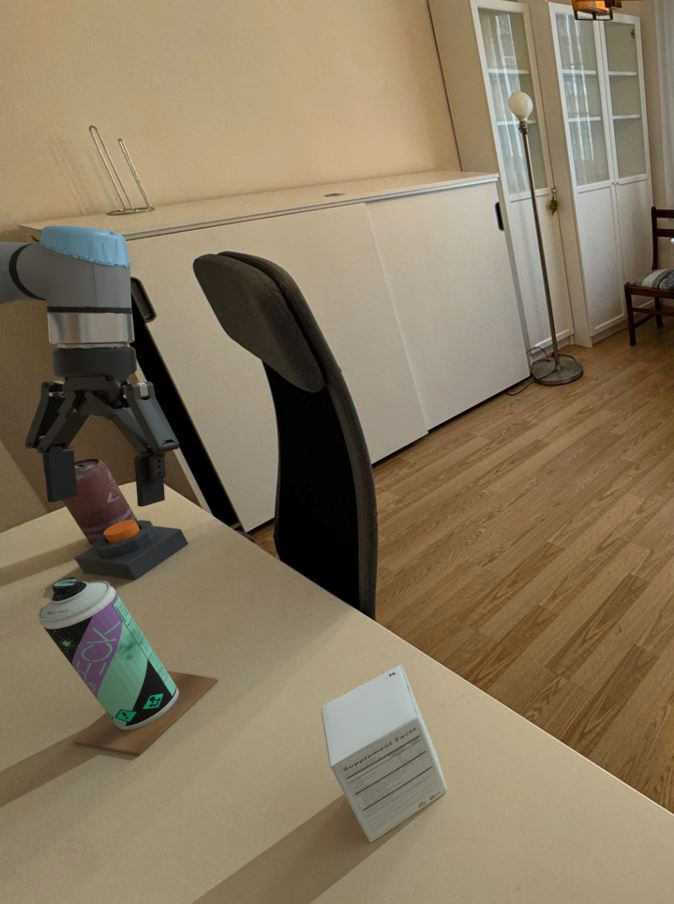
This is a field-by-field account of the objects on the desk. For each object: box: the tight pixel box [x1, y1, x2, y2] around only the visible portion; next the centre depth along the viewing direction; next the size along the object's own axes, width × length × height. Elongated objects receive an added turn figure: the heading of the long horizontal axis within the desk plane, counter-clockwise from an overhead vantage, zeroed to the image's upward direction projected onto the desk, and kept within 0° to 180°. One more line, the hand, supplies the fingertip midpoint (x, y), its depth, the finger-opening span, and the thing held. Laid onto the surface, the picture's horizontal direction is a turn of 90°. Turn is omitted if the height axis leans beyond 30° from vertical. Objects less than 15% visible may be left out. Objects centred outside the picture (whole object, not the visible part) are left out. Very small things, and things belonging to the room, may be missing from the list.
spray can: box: [37, 576, 179, 730], centre depth 62 cm, size 6×6×20 cm
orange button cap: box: [104, 520, 140, 543], centre depth 87 cm, size 4×4×2 cm
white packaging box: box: [320, 664, 448, 844], centre depth 55 cm, size 7×7×13 cm
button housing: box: [73, 519, 189, 581], centre depth 89 cm, size 10×8×5 cm
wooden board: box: [72, 669, 219, 756], centre depth 66 cm, size 9×9×1 cm
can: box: [61, 458, 139, 546], centre depth 92 cm, size 6×6×14 cm
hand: (106, 501), depth 75 cm, fingers open, 13 cm apart
